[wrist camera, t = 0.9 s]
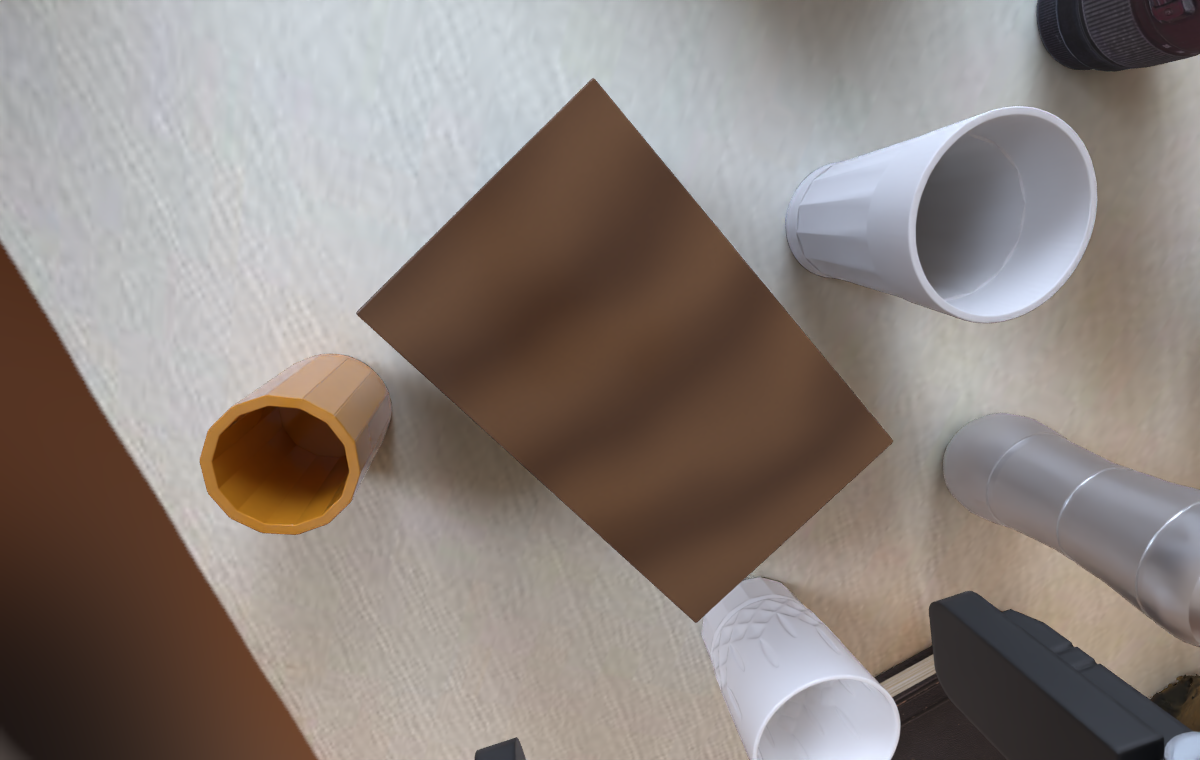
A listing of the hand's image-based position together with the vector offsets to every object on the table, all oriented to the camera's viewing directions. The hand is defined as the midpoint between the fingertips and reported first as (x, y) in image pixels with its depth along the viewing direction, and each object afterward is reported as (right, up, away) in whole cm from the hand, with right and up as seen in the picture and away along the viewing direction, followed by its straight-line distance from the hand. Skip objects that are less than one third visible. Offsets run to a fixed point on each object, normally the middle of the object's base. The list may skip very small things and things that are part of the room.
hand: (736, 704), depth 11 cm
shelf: (-2, +9, +23) cm, 25 cm away
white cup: (+7, -10, +29) cm, 32 cm away
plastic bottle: (+22, +1, +29) cm, 36 cm away
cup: (+11, +15, +24) cm, 30 cm away
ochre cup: (-17, +4, +22) cm, 28 cm away
